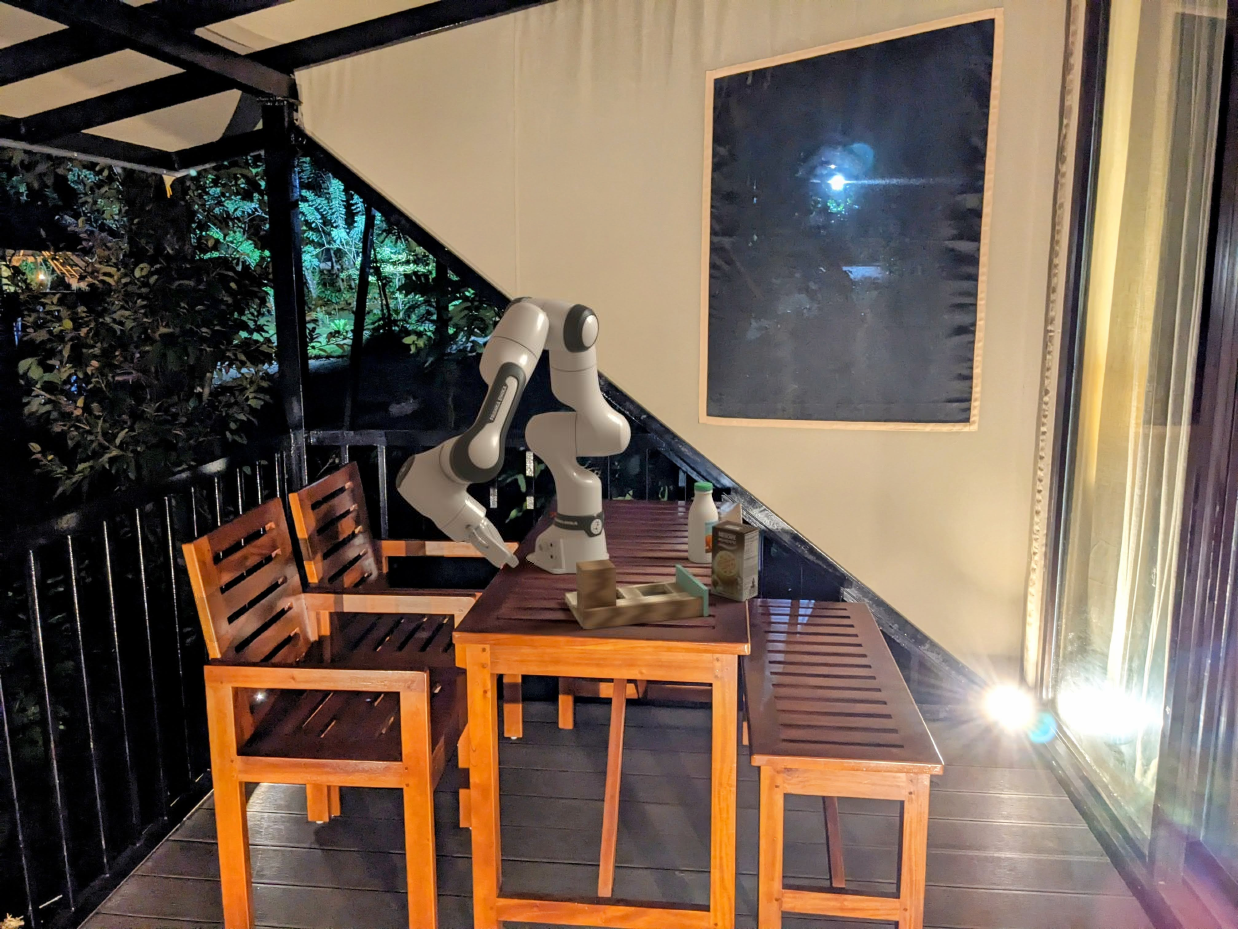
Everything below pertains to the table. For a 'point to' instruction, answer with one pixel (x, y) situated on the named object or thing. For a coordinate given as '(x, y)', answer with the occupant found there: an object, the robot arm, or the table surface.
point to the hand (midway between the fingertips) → (515, 563)
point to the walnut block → (595, 584)
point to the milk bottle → (701, 524)
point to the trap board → (639, 606)
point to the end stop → (692, 586)
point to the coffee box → (734, 560)
